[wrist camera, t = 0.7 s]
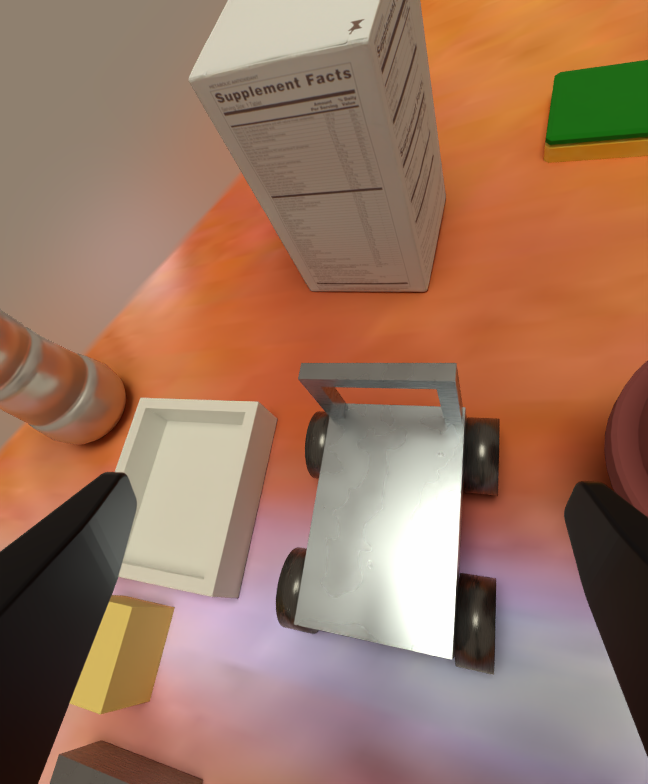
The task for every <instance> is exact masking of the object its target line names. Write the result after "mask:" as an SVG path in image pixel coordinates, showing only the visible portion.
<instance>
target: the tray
mask: <svg viewBox="0 0 648 784" xmlns="http://www.w3.org/2000/svg"><path fill="white" fill-rule="evenodd" d="M276 423H277V418H276V417H275V416H274V415H273V414H271V413H270V412H269V411H268V410H267V409H266V408H265V407H264V406H263V405H261V404H260V403H259V402H249V401H220V400H190V399H160V398H140V401H139V404H138V407H137V409H136V412H135V415H134V418H133V421H132V424H131V427H130V430H129V433H128V435H127V438H126V441H125V444H124V447H123V450H122V453H121V456H120V458H119V461H118V464H117V467H116V470H115V472H123V473H125V474H126V475H127V476H128V478H129V480H130V483H131V486H132V488H133V491H134V493H135V496H136V499H137V510H136V514H135V517H134V521H133V525H132V528H131V532H130V536H129V540H128V543H127V547H126V551H125V554H124V558H123V562H122V565H121V569H120V572H119V576H118V577H122V578H127V579H131V580H136V581H141V582H145V583H150V584H155V585H159V586H164V587H169V588H173V589H178V590H182V591H187V592H192V593H196V594H201V595H206V596H210V597H225V598H238V597H239V592H240V588H241V583H242V579H243V574H244V569H245V565H246V560H247V556H248V551H249V547H250V542H251V537H252V533H253V528H254V524H255V519H256V515H257V510H258V505H259V501H260V496H261V492H262V487H263V483H264V478H265V473H266V469H267V464H268V460H269V455H270V450H271V446H272V441H273V437H274V432H275V428H276Z"/></svg>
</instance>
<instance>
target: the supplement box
mask: <svg viewBox="0 0 648 784" xmlns="http://www.w3.org/2000/svg"><path fill="white" fill-rule="evenodd" d="M189 82H190V84H191V86H192V88H193V90H194V91H195V93H196V95H197V96H198V98H199V100H200V102H201V103H202V105H203V107H204V109H205V110H206V112H207V114H208V116H209V117H210V119H211V121H212V122H213V124H214V126H215V127H216V129H217V131H218V133H219V134H220V136H221V138H222V139H223V141H224V143H225V145H226V146H227V148H228V150H229V151H230V153H231V155H232V156H233V158H234V160H235V162H236V163H237V165H238V167H239V169H240V170H241V172H242V174H243V176H244V177H245V179H246V181H247V183H248V184H249V186H250V188H251V189H252V191H253V193H254V195H255V196H256V198H257V200H258V202H259V203H260V205H261V207H262V208H263V210H264V211H265V213H266V215H267V216H268V218H269V220H270V222H271V224H272V225H273V227H274V229H275V231H276V232H277V234H278V236H279V238H280V239H281V241H282V243H283V244H284V246H285V248H286V250H287V251H288V253H289V255H290V256H291V258H292V260H293V262H294V263H295V265H296V267H297V269H298V270H299V272H300V274H301V276H302V277H303V279H304V281H305V283H306V284H307V286H308V287H309V289H310V290H311V291H370V292H425V291H427V289H428V285H429V280H430V275H431V270H432V265H433V260H434V255H435V250H436V245H437V240H438V235H439V229H440V225H441V220H442V215H443V210H444V204H445V199H446V194H445V187H444V180H443V172H442V164H441V157H440V149H439V141H438V134H437V126H436V118H435V111H434V103H433V96H432V88H431V80H430V73H429V65H428V57H427V50H426V42H425V35H424V27H423V19H422V11H421V3H420V0H228V1H227V3H226V5H225V7H224V9H223V11H222V13H221V15H220V17H219V19H218V21H217V23H216V25H215V27H214V29H213V30H212V32H211V34H210V36H209V38H208V40H207V42H206V44H205V46H204V48H203V50H202V52H201V54H200V56H199V58H198V60H197V62H196V64H195V66H194V68H193V70H192V72H191V74H190V76H189Z"/></svg>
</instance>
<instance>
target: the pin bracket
mask: <svg viewBox="0 0 648 784" xmlns="http://www.w3.org/2000/svg"><path fill="white" fill-rule="evenodd" d="M202 781H203V780H202V779H199V778H197V777H194V776H192V775H189V774H187V773H184V772H181V771H179V770H176V769H174V768H171V767H168V766H166V765H163V764H161V763H158V762H155V761H153V760H150V759H148V758H145V757H143V756H140V755H137V754H135V753H132V752H130V751H127V750H124V749H122V748H119V747H117V746H114V745H111V744H109V743H106V742H104V741H98V742H95V743H92V744H89V745H86V746H83V747H80V748H77V749H74V750H71V751H68V752H65V753H62V754H59V756H58V759H57V762H56V766H55V769H54V772H53V775H52V778H51V781H50V784H202Z"/></svg>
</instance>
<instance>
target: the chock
mask: <svg viewBox="0 0 648 784" xmlns="http://www.w3.org/2000/svg"><path fill="white" fill-rule="evenodd" d="M174 608H175V607H170V606H166V605H162V604H158V603H153V602H149V601H145V600H140V599H136V598H132V597H128V596H118V595H112V596H111V598H110V601H109V603H108V606H107V608H106V611H105V613H104V616H103V619H102V621H101V624H100V626H99V629H98V631H97V634H96V637H95V639H94V642H93V644H92V647H91V649H90V652H89V654H88V657H87V660H86V662H85V665H84V667H83V670H82V672H81V675H80V678H79V680H78V683H77V685H76V688H75V690H74V693H73V695H72V698H71V701H70V704H73V705H76V706H79V707H81V708H84V709H87V710H90V711H92V712H95V713H98V714H104V713H108V712H111V711H115V710H119V709H123V708H126V707H130V706H134V705H138V704H141V703H145V702H149V701H150V698H151V694H152V690H153V687H154V683H155V679H156V675H157V672H158V668H159V664H160V660H161V657H162V653H163V649H164V645H165V642H166V638H167V634H168V630H169V627H170V623H171V619H172V615H173V612H174Z"/></svg>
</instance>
